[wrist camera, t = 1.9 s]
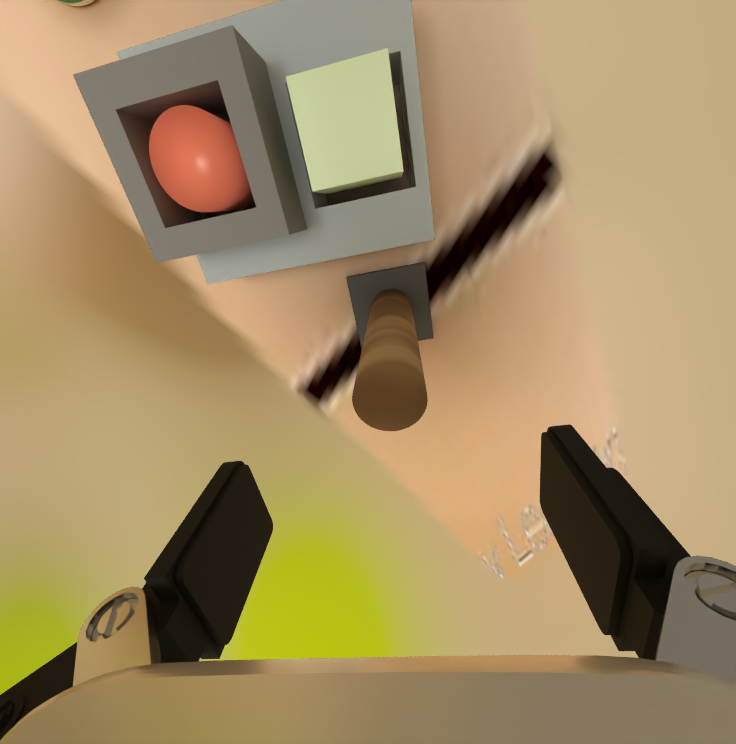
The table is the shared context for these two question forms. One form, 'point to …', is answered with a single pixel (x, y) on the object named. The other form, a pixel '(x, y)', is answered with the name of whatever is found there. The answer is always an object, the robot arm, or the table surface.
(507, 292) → the table surface
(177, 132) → the button
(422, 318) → the pad
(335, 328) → the table surface
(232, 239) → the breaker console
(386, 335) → the brown wooden cylinder
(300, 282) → the table surface
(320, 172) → the on button
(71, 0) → the supplement bottle
